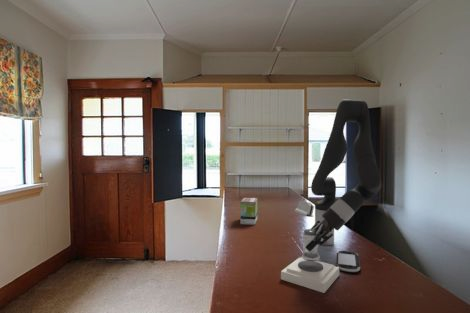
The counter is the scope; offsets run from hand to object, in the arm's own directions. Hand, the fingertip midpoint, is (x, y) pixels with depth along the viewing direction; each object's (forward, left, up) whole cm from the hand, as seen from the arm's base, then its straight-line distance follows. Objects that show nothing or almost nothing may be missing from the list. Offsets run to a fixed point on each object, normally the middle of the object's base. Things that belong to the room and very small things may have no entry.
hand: (305, 246), depth 101 cm
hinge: (-95, -42, -12) cm, 104 cm away
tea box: (-52, -62, -12) cm, 82 cm away
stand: (-1, +1, -12) cm, 12 cm away
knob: (-1, +1, -4) cm, 5 cm away
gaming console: (-22, +9, -12) cm, 27 cm away
